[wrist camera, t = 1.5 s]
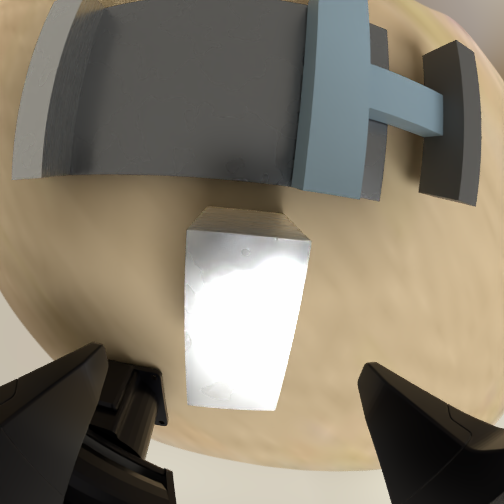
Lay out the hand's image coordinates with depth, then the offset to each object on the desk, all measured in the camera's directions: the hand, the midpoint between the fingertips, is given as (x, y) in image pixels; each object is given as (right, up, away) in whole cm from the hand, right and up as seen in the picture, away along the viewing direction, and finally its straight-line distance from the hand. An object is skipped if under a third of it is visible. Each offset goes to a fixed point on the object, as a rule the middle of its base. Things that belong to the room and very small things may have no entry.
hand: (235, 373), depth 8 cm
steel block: (0, +2, +7) cm, 8 cm away
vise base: (-2, +13, +4) cm, 14 cm away
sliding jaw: (+7, +12, +3) cm, 14 cm away
